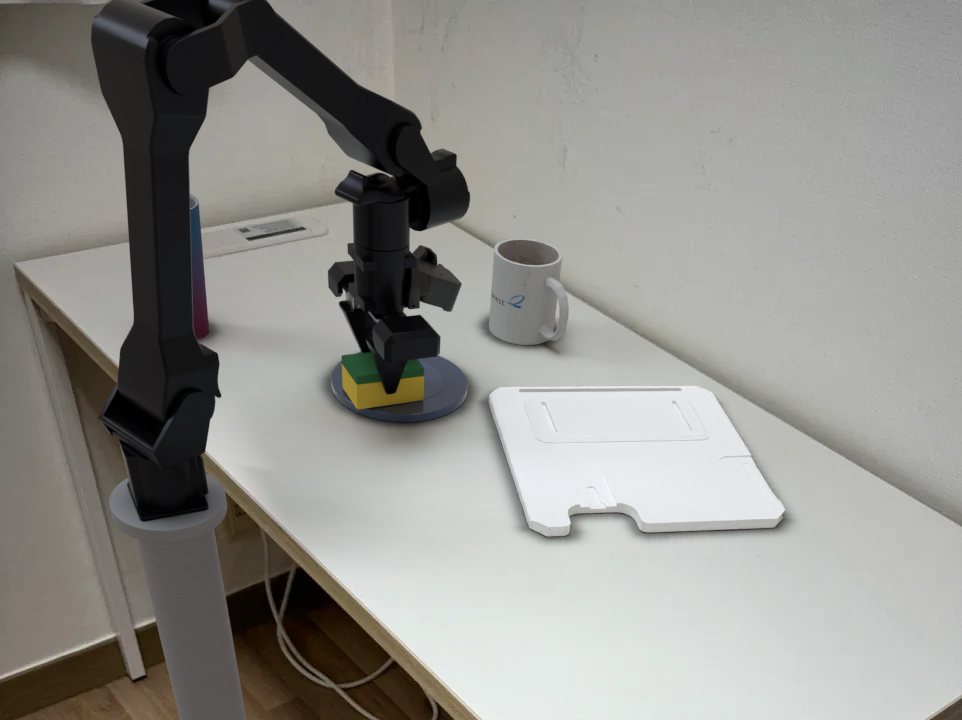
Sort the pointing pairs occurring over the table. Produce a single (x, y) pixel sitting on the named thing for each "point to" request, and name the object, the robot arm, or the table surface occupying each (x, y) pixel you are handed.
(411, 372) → the sponge
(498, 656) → the table surface
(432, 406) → the plate
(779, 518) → the tray
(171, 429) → the robot arm
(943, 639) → the table surface
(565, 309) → the mug
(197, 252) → the cup
